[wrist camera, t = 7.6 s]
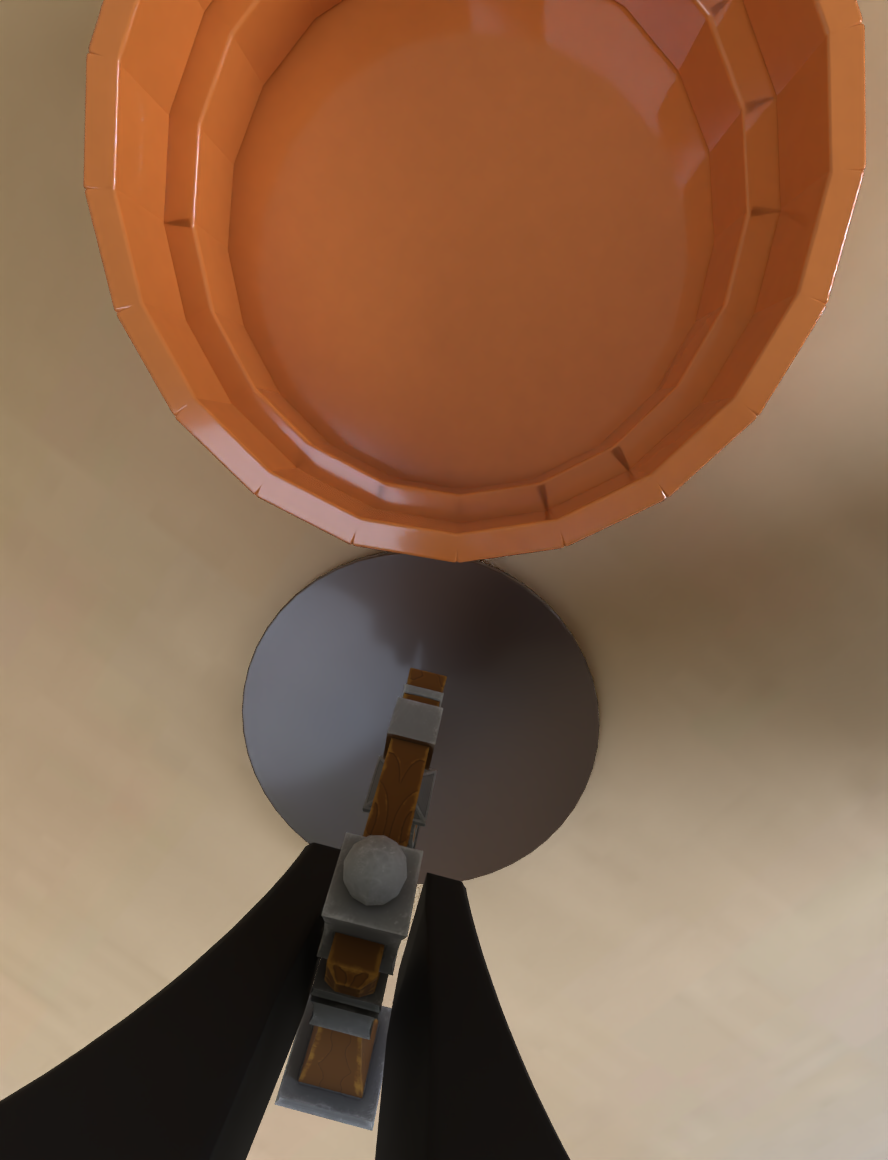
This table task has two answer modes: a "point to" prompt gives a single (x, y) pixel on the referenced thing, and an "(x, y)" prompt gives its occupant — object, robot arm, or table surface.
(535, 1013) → the table surface
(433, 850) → the coaster
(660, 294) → the bowl
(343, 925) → the wooden post with brackets
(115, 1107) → the robot arm
